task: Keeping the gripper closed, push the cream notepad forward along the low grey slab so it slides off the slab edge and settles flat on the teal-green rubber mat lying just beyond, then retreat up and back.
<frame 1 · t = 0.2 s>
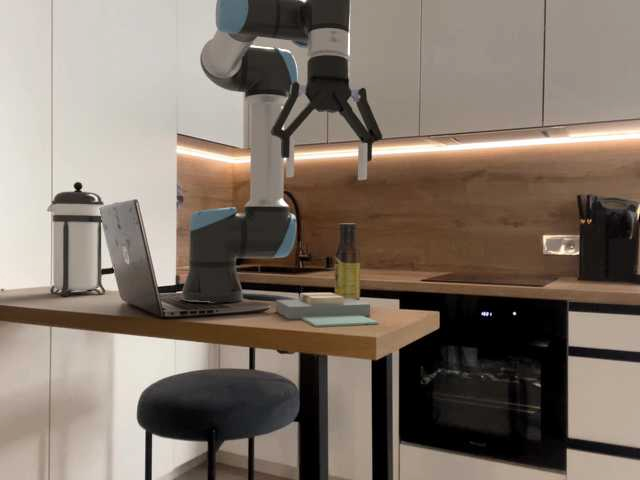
hand: (326, 178, 105), 28 cm above the worktop, fingers open, 13 cm apart
cream notepad: (321, 301, 128), point 2 cm above the worktop, touching grey slab
grey slab: (322, 313, 128), on the worktop
mat: (338, 321, 118), on the worktop
coffee press: (82, 294, 158), on the worktop
sauce bottle: (347, 304, 144), on the worktop
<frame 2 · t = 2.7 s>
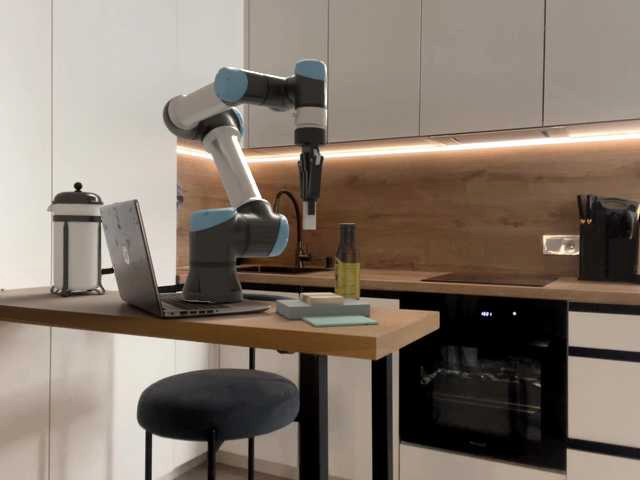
hand: (309, 229, 137), 18 cm above the worktop, fingers closed
nothing on the worktop moved.
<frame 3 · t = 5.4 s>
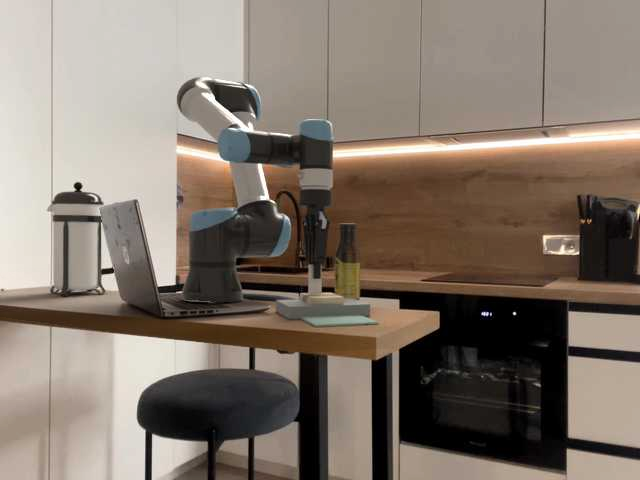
hand: (314, 292, 133), 4 cm above the worktop, fingers closed
cream notepad: (321, 301, 128), point 3 cm above the worktop, touching gripper
everything else where it was.
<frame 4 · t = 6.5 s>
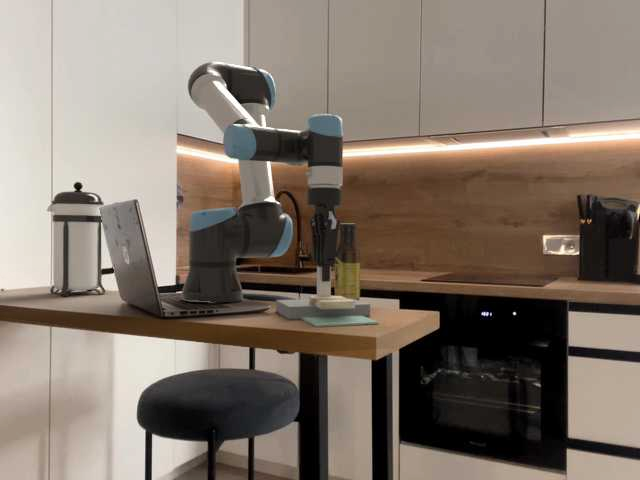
hand: (323, 296, 127), 4 cm above the worktop, fingers closed
cream notepad: (331, 305, 122), point 2 cm above the worktop, touching grey slab, gripper
everything else where it was.
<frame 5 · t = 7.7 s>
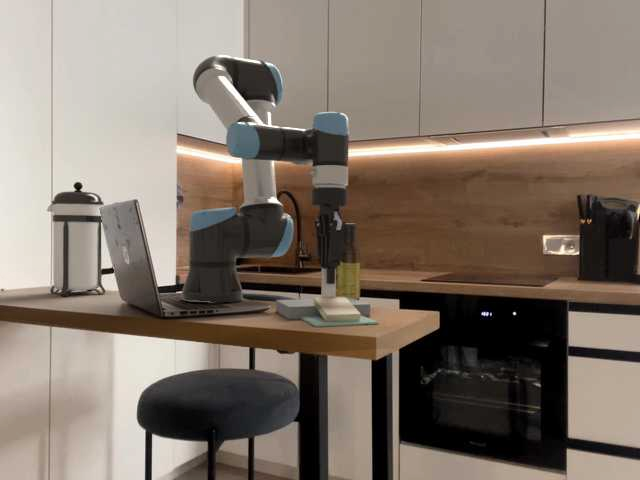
hand: (328, 298, 124), 4 cm above the worktop, fingers closed
cream notepad: (335, 312, 119), point 2 cm above the worktop, tilted 15°, touching grey slab, gripper, mat
everything else where it was.
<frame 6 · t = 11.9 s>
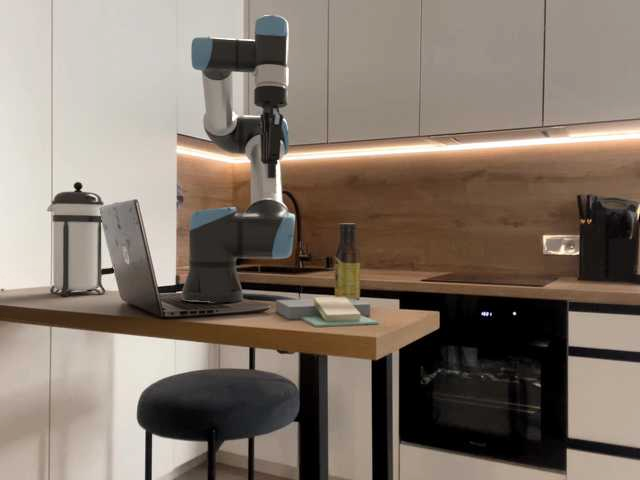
hand: (269, 193, 132), 26 cm above the worktop, fingers closed
cream notepad: (335, 312, 119), point 2 cm above the worktop, tilted 15°, touching grey slab, mat
everything else where it was.
at the end: cream notepad inside the target area on the mat (1.7 cm from its centre), point 1.6 cm above the mat's base; cream notepad point 1.6 cm above the worktop; cream notepad tilted 15° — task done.
